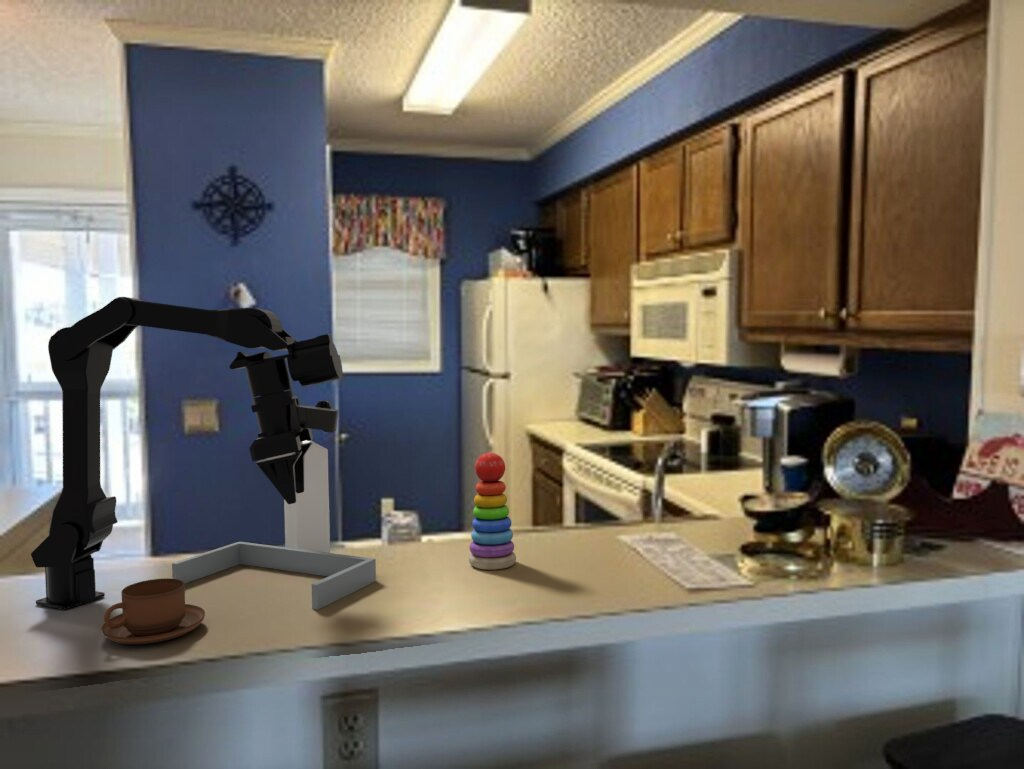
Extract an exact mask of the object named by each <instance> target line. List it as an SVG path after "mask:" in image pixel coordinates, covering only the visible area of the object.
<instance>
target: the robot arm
mask: <svg viewBox="0 0 1024 769" xmlns="http://www.w3.org/2000/svg"><path fill="white" fill-rule="evenodd" d="M138 327H147V328H155V329H161V330H162V329H164V330H169V331H170V330H171V331H175V332H176V331H177V332H178V331H179V332H185V333H193V334H200V335H207V336H209V337H213V338H217V339H218V340H221V341H224V342H227V343H231V344H233V345H237V346H239V347H243V348H246V349H268V350H270V351H273V352H276V351H287V354H282V355H277V356H272V354H271V353H270V352H269V351H266V350H265V351H262V352H258V353H257V352H256V353H252V354H248V353H247V352H245V351H237V354H236V356H235V358H234V359H233V360H232V362H231V363H230V364H229V366H228V367H229V369H230V370H241V369H245V372H246V377H247V381H248V385H249V390H250V394H251V398H252V399H251V400H252V402H253V405H250V407H251V412H252V413H255V416H256V419H257V420H256V421H257V424H258V427H259V428H258V429H259V433H257V437H258V438H256V439H254V440H253V442H252V443H251V445H250V446H249V447H248V448H249V449H248V450H249V453H250V457H251V462H255V465H256V466H257V467H258V468H259V470H260V471H261V472H262V473H263V474H264V476H266V478H267V479H268V480H269V481H270V482H271V484H272V485H273V486H274V488H275V489H276V491H278V494H280V496H282V498H283V500H284V499H285V501H286V502H287V503H288V504H293V503H295V502H296V493H302V492H304V456H305V454H306V452H307V451H308V449H309V448H310V446H311V445H312V442H310V443H305V444H303V442H302V441H306V440H307V441H311V440H314V436H313V431H312V430H319V431H323V432H325V433H336V431H337V427H338V426H337V425H338V420H339V419H338V418H339V411H340V410H339V409H337V408H333V407H332V403H331V401H328V400H319V401H318V402H316V405H315V406H314V405H302V404H301V401H300V398H299V397H297V395H295V394H294V390H293V386H292V381H293V382H294V383H295V382H298V383H299V384H300V385H301V387H303V388H305V387H310V386H314V385H320V384H324V383H328V382H332V381H338V380H342V379H343V376H344V374H343V365H342V360H341V355H340V354H338V349H337V348H336V345H335V344H334V342H333V338H332V334H328V333H325V334H322V335H318V336H316V337H314V338H313V337H312V338H309V339H303V340H296V339H295V338H294V337H293V336H292V335H290V333H288V332H287V331H286V330H285V329H284V328H283V325H282V322H281V320H280V319H279V316H277V314H276V313H275V312H273V311H270V310H266V309H261V308H255V307H240V308H239V307H238V308H237V307H235V308H221V309H205V308H198V307H197V308H196V307H190V306H182V305H174V304H168V303H167V304H166V303H159V302H153V301H152V302H151V301H144V300H142V299H139V298H135V297H127V296H118V297H115V298H114V299H113V300H111V301H110V302H109V303H107V304H106V305H105V306H103V307H101V308H100V309H98V310H96V311H94V312H92V313H90V314H89V315H87V316H85V317H83V318H81V319H79V320H78V321H76V322H75V323H73V325H71V326H69V327H68V326H67V327H63V328H60V329H57V331H56V332H55V333H54V334H53V335H50V338H49V340H48V345H47V348H48V355H49V362H50V367H51V370H52V373H53V375H54V377H55V379H56V380H57V382H58V385H59V386H60V388H61V389H60V390H61V392H62V488H61V489H62V490H61V493H60V494H59V496H58V499H57V501H56V504H55V505H54V508H53V510H52V513H51V518H50V523H49V524H50V525H49V529H48V530H49V531H48V536H46V538H45V539H44V540H43V541H42V542H41V543H39V545H38V546H37V547H36V548H35V549H34V550H33V551H32V552H31V553H30V556H31V558H32V561H33V563H34V566H35V568H44V573H45V574H44V577H45V581H44V582H45V597H43V598H40V599H37V600H35V605H39V606H42V607H43V606H44V607H49V608H54V609H59V610H68V609H71V608H74V607H77V606H80V605H83V604H85V603H89V602H92V601H95V600H98V599H100V598H103V597H105V592H102V591H98V590H97V589H96V586H97V585H96V570H95V563H94V561H95V560H94V557H92V554H95V553H97V552H100V551H101V548H102V545H103V542H104V541H105V540H106V539H107V538H108V537H109V536H110V535H111V533H112V531H113V528H114V527H113V526H114V525H115V524H118V519H117V516H116V506H117V497H116V495H115V496H106V494H105V491H104V490H103V488H102V484H101V389H102V387H103V384H104V382H105V380H106V378H107V376H108V374H109V371H110V368H111V364H112V363H111V362H112V357H113V353H114V350H115V349H117V348H118V346H120V345H121V344H123V343H124V342H125V341H126V340H127V339H128V338H129V336H130V335H131V334H132V333H133V331H134V330H135V329H137V328H138ZM291 379H292V381H291Z"/></svg>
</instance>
